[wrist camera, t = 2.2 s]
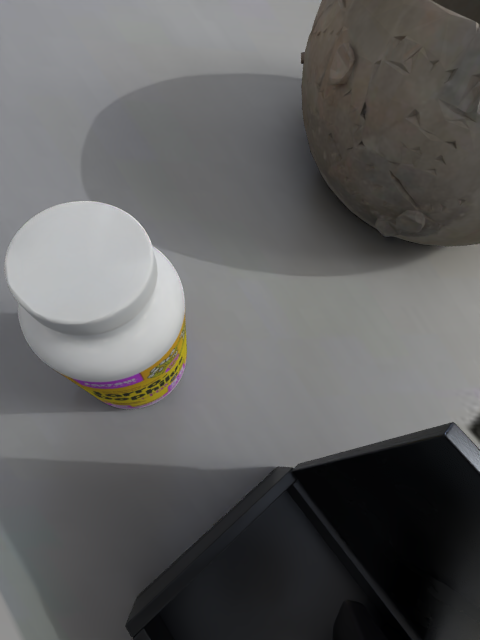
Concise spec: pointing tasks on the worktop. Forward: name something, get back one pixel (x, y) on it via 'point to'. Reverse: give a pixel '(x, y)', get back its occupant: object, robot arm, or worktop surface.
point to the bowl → (398, 114)
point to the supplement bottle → (99, 302)
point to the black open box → (264, 576)
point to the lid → (411, 522)
